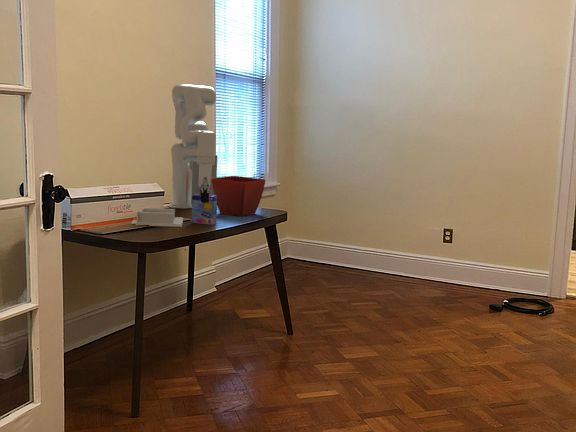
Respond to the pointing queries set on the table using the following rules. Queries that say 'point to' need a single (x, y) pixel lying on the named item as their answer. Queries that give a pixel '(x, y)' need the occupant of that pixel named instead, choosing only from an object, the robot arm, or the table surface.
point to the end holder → (158, 217)
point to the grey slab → (195, 178)
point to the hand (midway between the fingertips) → (204, 201)
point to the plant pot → (238, 194)
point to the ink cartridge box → (204, 209)
